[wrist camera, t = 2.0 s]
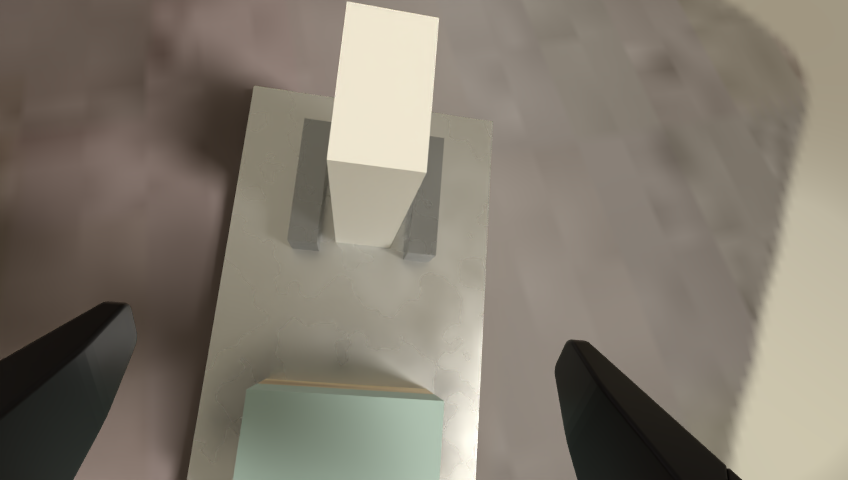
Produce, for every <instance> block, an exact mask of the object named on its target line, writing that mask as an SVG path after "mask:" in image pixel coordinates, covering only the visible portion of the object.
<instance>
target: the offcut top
mask: <svg viewBox="0 0 848 480" xmlns="http://www.w3.org/2000/svg"><path fill="white" fill-rule="evenodd" d="M443 416H444V400H442V399H441V398H439V397H438V396H436V395H435V394H421V393H405V392H388V391H372V390H356V389H339V388H323V387H307V386H291V385H274V384H258V383H257V384H255V385H254V386H252V387H250V388H248V389H247V390H246V396H245V403H244V410H243V416H242V423H241V430H240V436H239V443H238V449H237V456H236V463H235V469H234V476H233V480H439V479H440V463H441V447H442V431H443Z"/></svg>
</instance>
